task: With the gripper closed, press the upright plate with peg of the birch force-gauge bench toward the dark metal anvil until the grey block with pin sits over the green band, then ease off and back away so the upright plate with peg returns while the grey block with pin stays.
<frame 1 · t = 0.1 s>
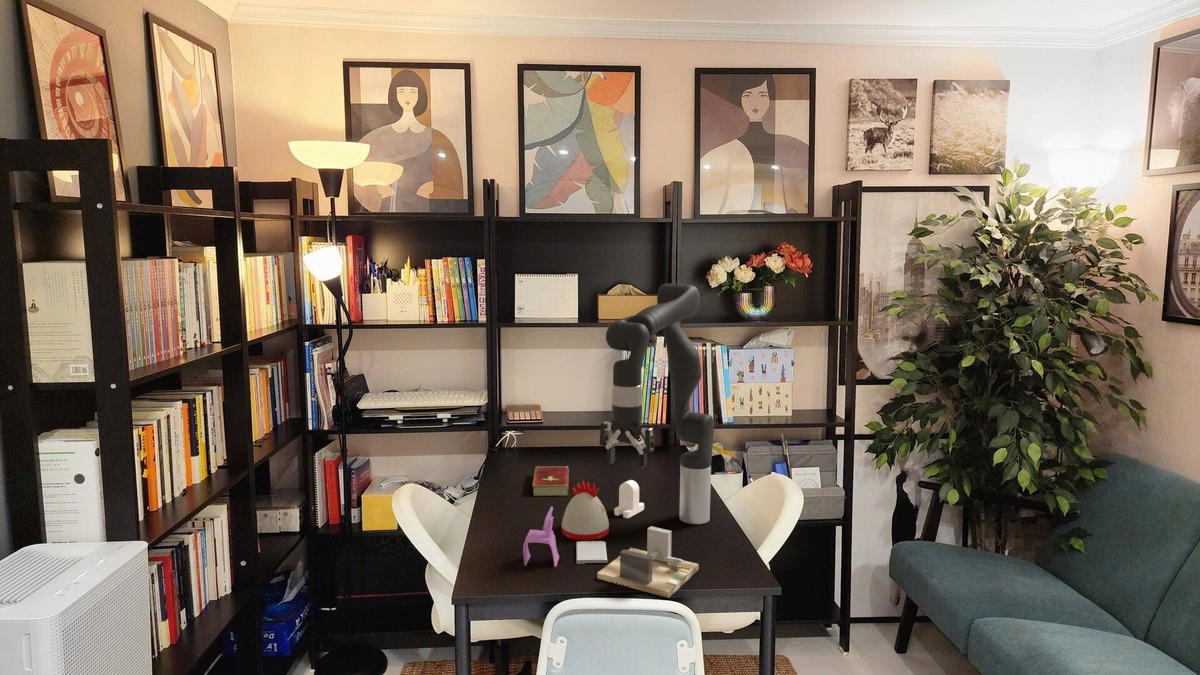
hand: (626, 465, 189), 29 cm above the table, fingers open, 8 cm apart
toy chair: (541, 562, 201), on the table
hardcover book: (551, 487, 262), on the table
gauge bench: (648, 573, 194), on the table
grey block with pin: (681, 566, 193), point 3 cm above the table, slide at 0.0 cm
upright plate with peg: (661, 549, 195), point 6 cm above the table, slide at 0.0 cm
hard drive: (591, 556, 206), on the table
cable organizer: (629, 512, 238), on the table
kitchen timer: (585, 531, 222), on the table
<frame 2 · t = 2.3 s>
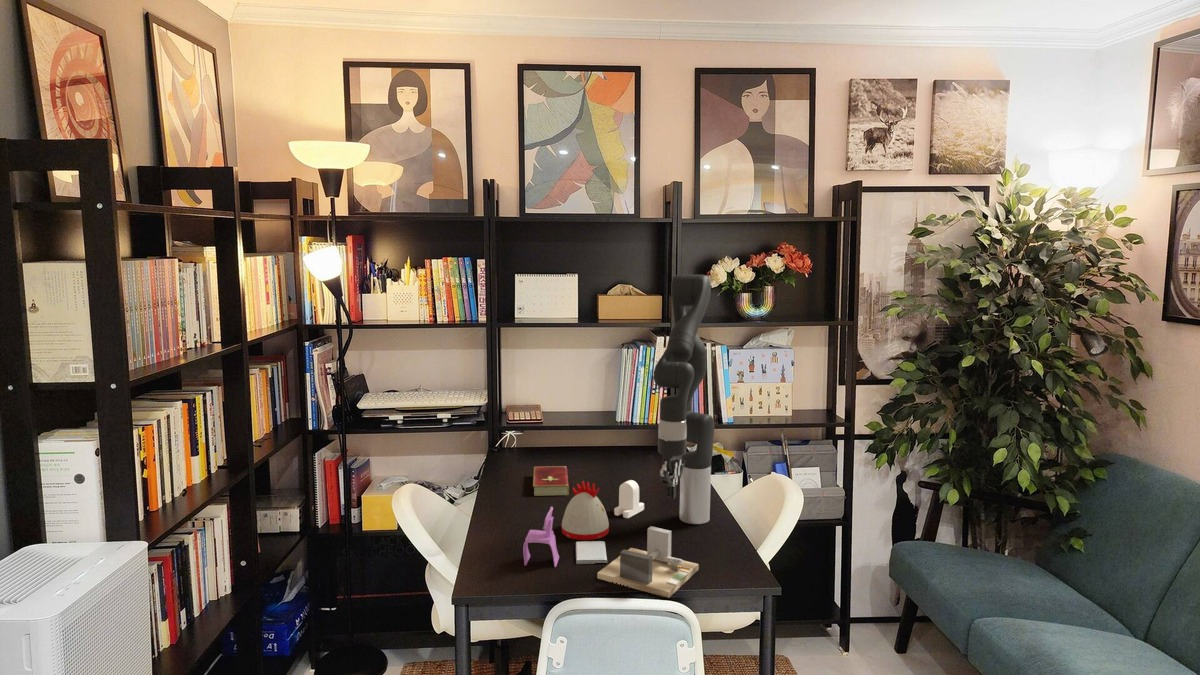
hand: (670, 498, 203), 16 cm above the table, fingers closed
nothing on the table moved.
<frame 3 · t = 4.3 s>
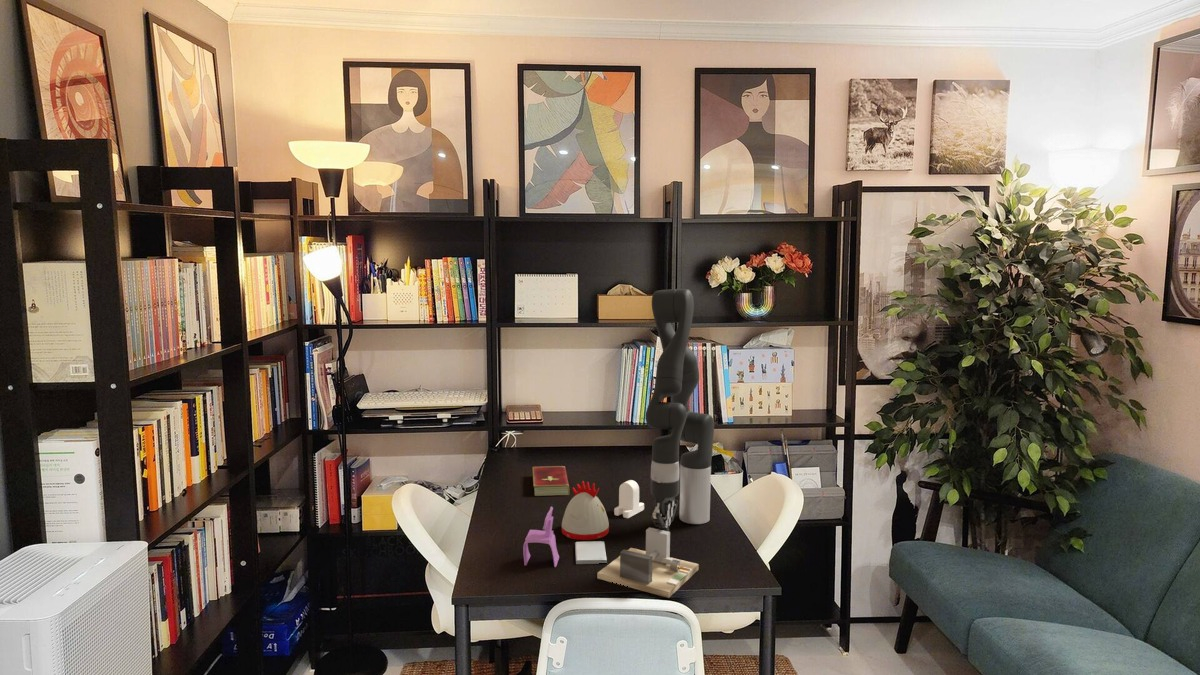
hand: (663, 539, 201), 6 cm above the table, fingers closed
grey block with pin: (680, 566, 192), point 3 cm above the table, slide at 0.4 cm, touching upright plate with peg
upright plate with peg: (660, 550, 195), point 6 cm above the table, slide at 0.9 cm, touching gripper, grey block with pin
everything else where it was.
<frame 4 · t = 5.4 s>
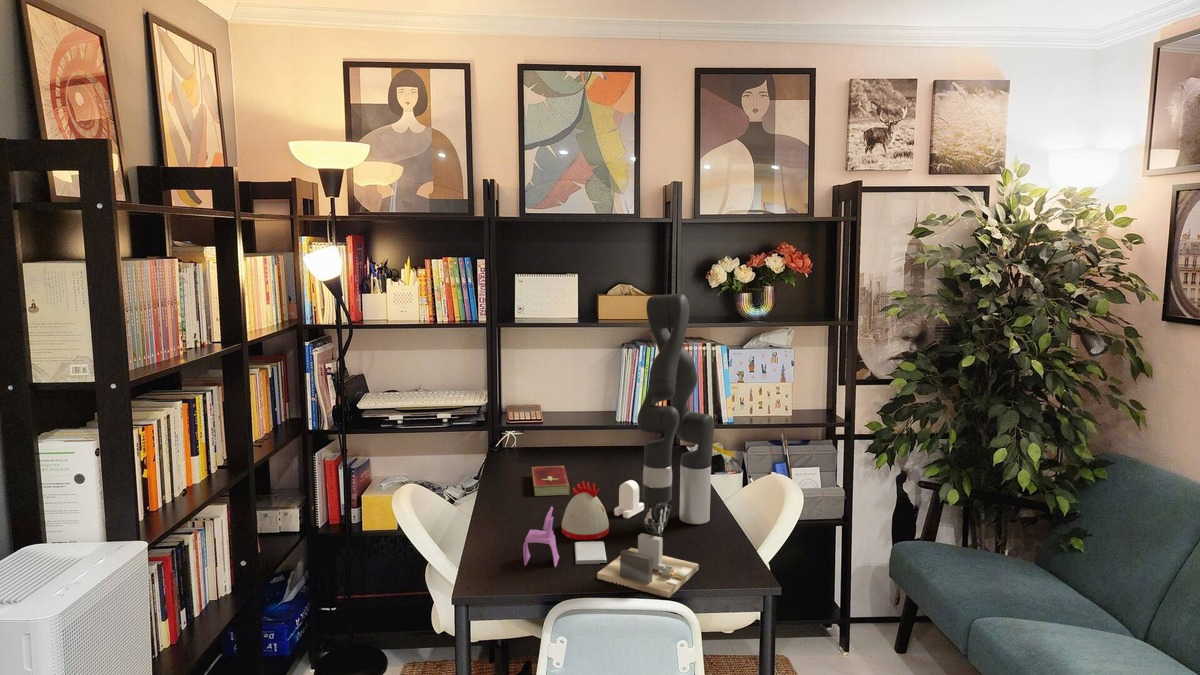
hand: (656, 545, 197), 6 cm above the table, fingers closed
grey block with pin: (673, 573, 188), point 3 cm above the table, slide at 4.8 cm, touching upright plate with peg
upright plate with peg: (652, 556, 191), point 6 cm above the table, slide at 5.3 cm, touching gripper, grey block with pin
everything else where it was.
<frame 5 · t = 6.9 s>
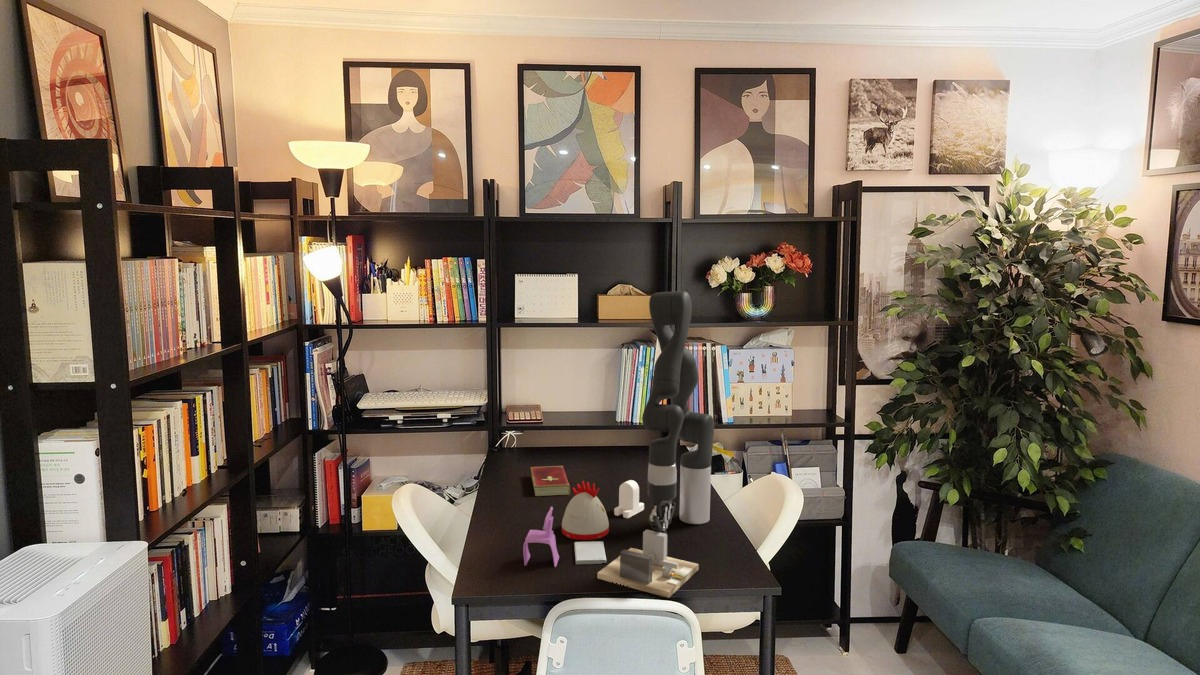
hand: (661, 542, 200), 6 cm above the table, fingers closed
grey block with pin: (673, 573, 188), point 3 cm above the table, slide at 4.8 cm
upright plate with peg: (657, 552, 193), point 6 cm above the table, slide at 2.5 cm, touching gripper
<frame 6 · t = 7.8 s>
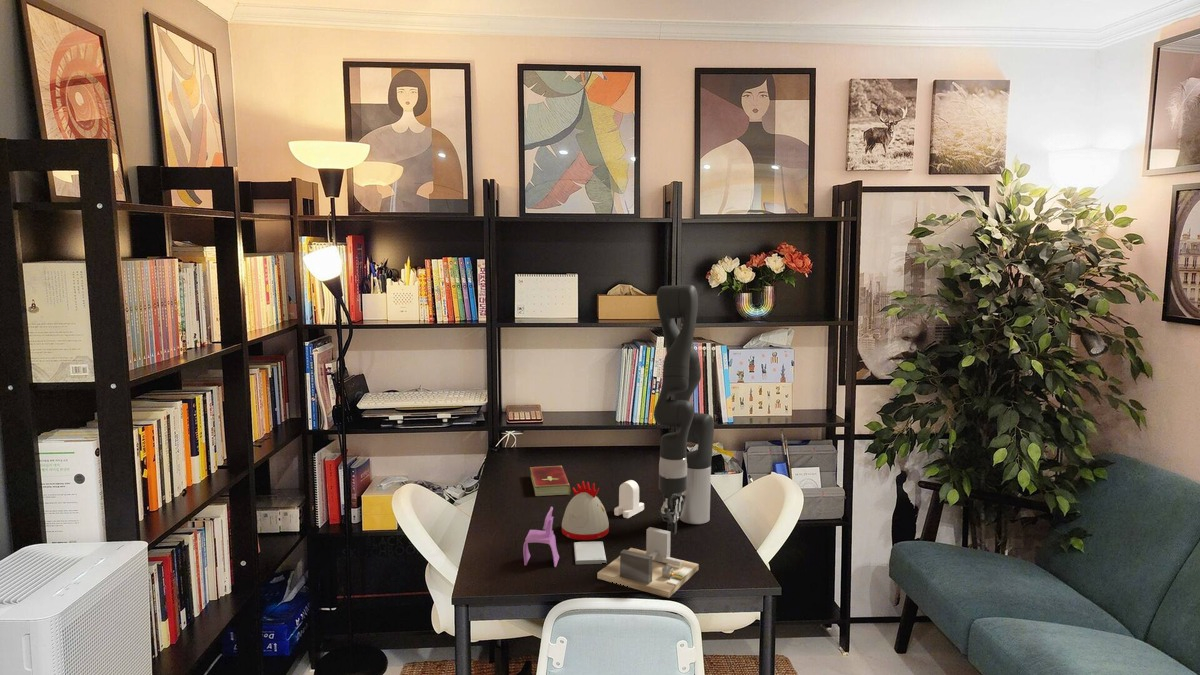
hand: (671, 533, 205), 6 cm above the table, fingers closed
upright plate with peg: (660, 550, 195), point 6 cm above the table, slide at 0.6 cm
everything else where it was.
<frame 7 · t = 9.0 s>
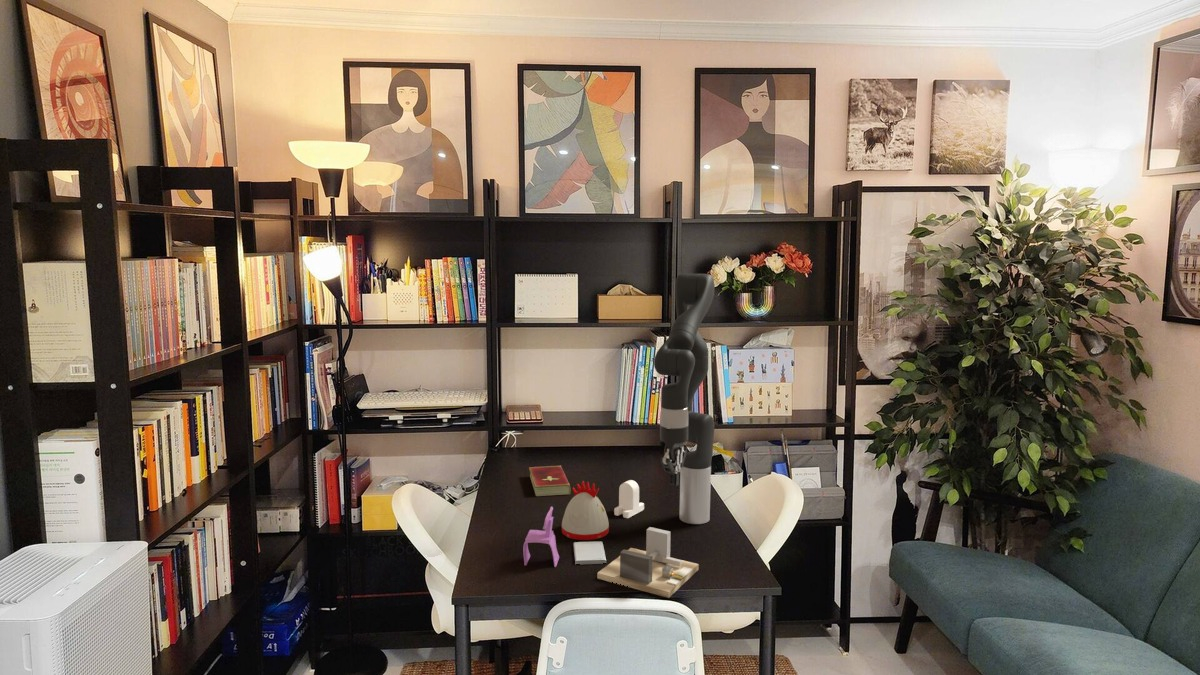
hand: (673, 485, 203), 20 cm above the table, fingers closed
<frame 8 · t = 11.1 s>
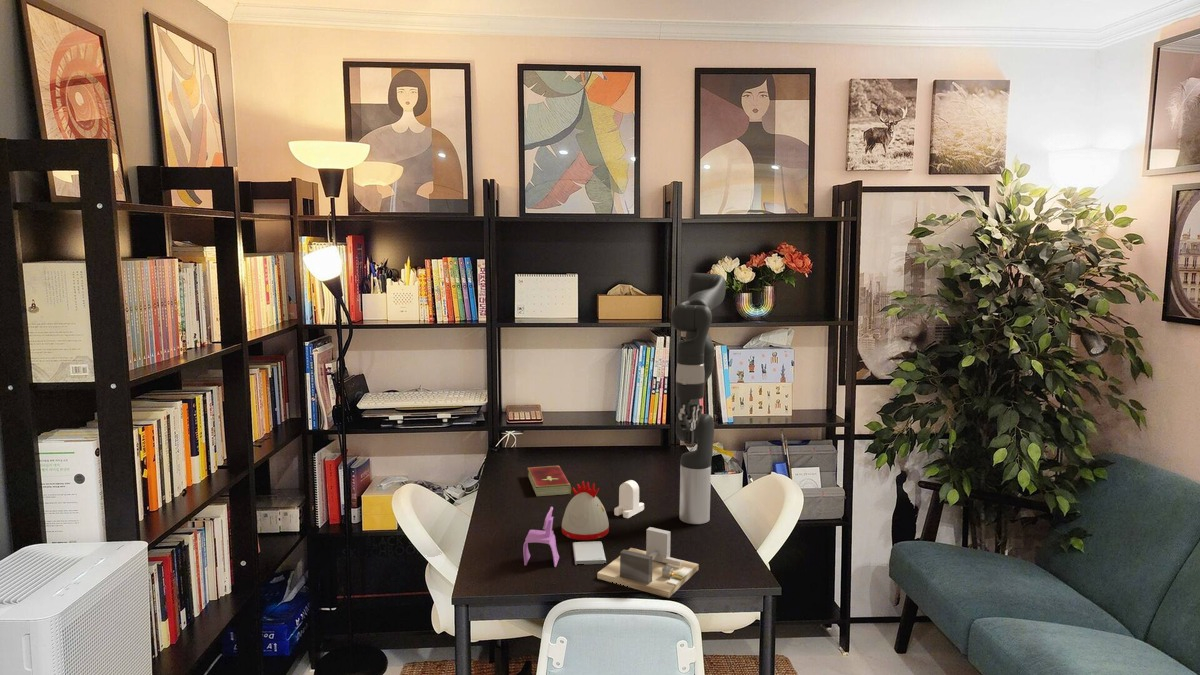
hand: (688, 443, 203), 31 cm above the table, fingers closed
at the end: grey block with pin slide at 4.8 cm; upright plate with peg slide at 0.6 cm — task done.
